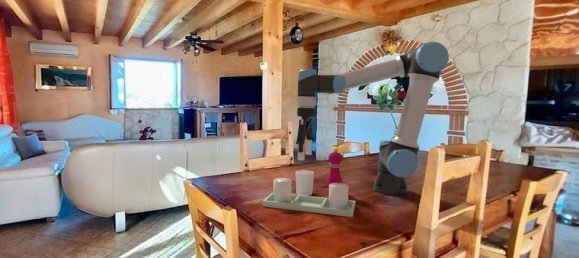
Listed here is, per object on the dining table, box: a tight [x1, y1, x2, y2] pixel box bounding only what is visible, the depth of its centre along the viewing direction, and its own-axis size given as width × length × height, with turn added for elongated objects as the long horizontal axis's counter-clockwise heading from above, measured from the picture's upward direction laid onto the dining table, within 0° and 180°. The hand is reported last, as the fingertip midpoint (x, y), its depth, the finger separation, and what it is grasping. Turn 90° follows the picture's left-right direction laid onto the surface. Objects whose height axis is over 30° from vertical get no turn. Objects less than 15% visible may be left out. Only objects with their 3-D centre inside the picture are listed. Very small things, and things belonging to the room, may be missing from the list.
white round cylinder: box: [328, 183, 349, 210], centre depth 115 cm, size 7×7×9 cm
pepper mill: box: [325, 148, 344, 194], centre depth 136 cm, size 7×7×20 cm
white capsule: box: [272, 177, 293, 203], centre depth 121 cm, size 7×7×9 cm
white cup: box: [295, 169, 315, 196], centre depth 134 cm, size 8×8×10 cm
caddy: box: [262, 192, 356, 218], centre depth 118 cm, size 33×12×3 cm, turn 74°
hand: (304, 157), depth 133 cm, fingers open, 13 cm apart
